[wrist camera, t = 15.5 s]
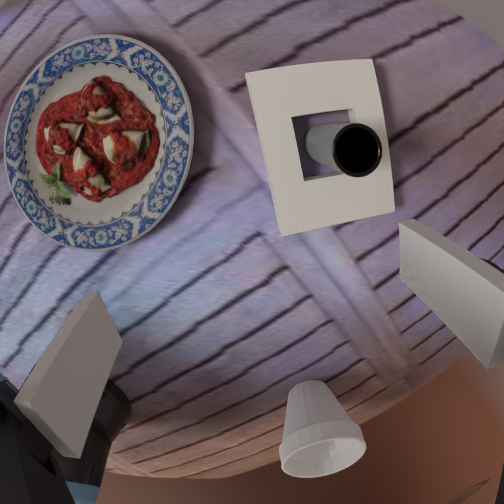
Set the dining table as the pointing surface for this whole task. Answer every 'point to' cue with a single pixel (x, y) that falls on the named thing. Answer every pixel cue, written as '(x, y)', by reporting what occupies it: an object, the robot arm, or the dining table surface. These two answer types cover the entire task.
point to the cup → (318, 433)
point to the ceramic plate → (99, 142)
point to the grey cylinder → (345, 147)
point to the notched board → (286, 152)
